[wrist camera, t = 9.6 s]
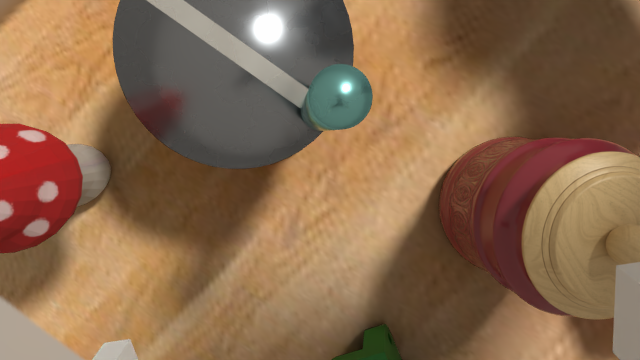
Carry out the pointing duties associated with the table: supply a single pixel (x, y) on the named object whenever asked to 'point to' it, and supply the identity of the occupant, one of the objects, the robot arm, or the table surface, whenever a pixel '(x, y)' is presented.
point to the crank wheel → (239, 75)
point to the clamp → (375, 346)
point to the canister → (547, 218)
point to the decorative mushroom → (43, 184)
